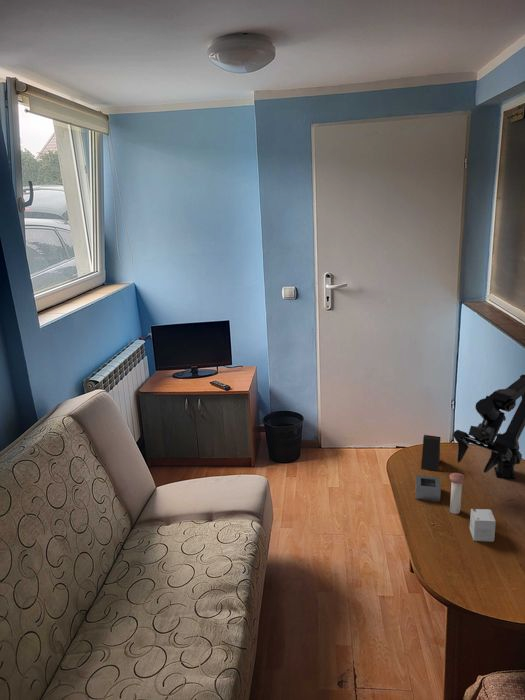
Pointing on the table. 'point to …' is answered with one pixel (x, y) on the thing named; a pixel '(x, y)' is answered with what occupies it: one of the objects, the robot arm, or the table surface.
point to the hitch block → (428, 488)
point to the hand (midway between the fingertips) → (471, 467)
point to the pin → (456, 492)
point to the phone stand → (430, 452)
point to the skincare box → (482, 525)
